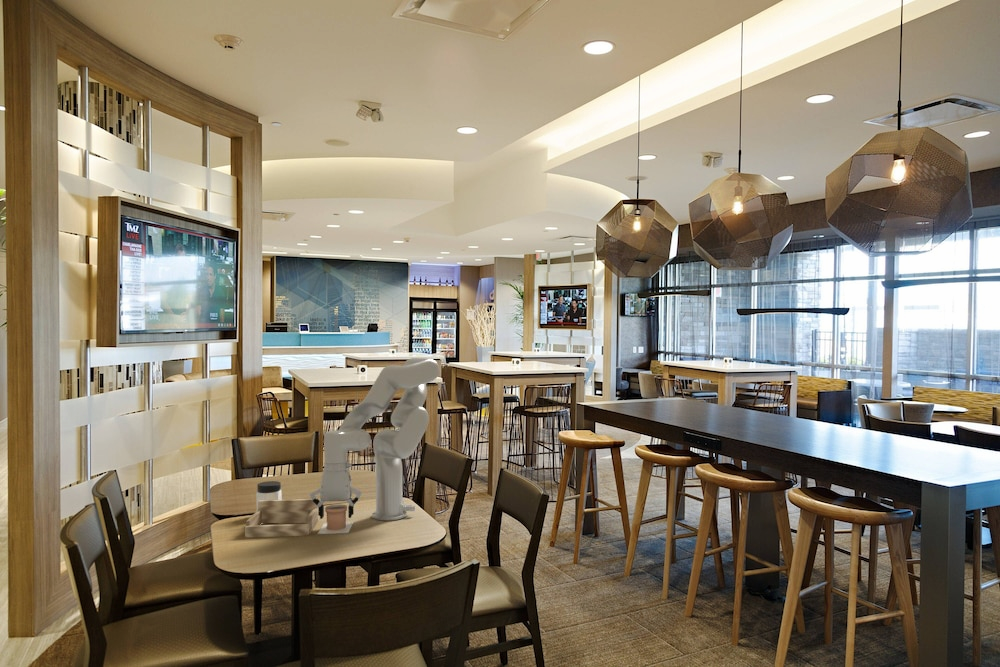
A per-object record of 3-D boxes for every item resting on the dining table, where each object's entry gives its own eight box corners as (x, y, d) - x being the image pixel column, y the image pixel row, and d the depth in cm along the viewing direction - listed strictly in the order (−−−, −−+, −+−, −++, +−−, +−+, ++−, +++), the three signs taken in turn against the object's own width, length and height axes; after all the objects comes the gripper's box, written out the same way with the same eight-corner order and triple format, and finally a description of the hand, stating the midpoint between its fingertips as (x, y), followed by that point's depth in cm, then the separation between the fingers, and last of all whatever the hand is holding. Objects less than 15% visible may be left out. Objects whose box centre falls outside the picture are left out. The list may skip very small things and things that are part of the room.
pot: (348, 524, 228) (348, 503, 228) (345, 530, 221) (345, 509, 221) (327, 524, 228) (327, 504, 228) (323, 530, 220) (323, 509, 220)
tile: (353, 522, 231) (353, 521, 231) (348, 533, 219) (348, 532, 219) (324, 523, 230) (324, 522, 230) (317, 534, 218) (317, 533, 218)
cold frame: (318, 521, 233) (317, 498, 233) (308, 535, 217) (308, 511, 217) (259, 523, 231) (259, 500, 231) (245, 537, 215) (244, 513, 215)
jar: (259, 520, 234) (259, 487, 234) (253, 515, 241) (253, 483, 241) (284, 516, 239) (284, 483, 239) (278, 511, 246) (278, 479, 246)
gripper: (362, 464, 229) (363, 513, 229) (312, 465, 227) (312, 515, 227) (359, 468, 221) (360, 519, 221) (307, 470, 220) (308, 521, 220)
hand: (336, 517), depth 224 cm, fingers open, 9 cm apart
